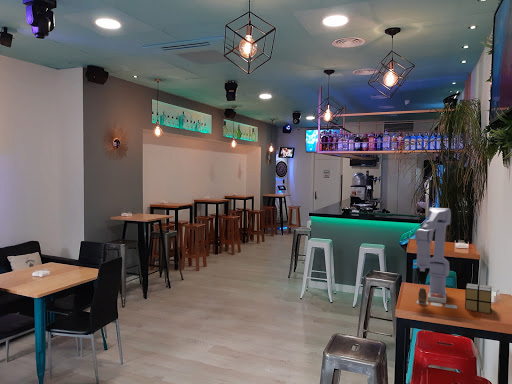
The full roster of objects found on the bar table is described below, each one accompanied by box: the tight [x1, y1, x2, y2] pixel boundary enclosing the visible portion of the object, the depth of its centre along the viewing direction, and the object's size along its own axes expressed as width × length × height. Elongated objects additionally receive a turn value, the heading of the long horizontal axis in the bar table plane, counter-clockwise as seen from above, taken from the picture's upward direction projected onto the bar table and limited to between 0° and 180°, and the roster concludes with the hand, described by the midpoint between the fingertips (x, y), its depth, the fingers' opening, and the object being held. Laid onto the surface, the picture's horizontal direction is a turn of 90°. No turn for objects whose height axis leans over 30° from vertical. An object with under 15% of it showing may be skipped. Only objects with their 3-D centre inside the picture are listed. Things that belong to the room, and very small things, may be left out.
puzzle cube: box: [464, 283, 493, 314], centre depth 176 cm, size 10×10×10 cm
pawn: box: [418, 287, 428, 305], centre depth 182 cm, size 3×3×7 cm
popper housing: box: [426, 292, 447, 304], centre depth 187 cm, size 8×8×2 cm
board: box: [416, 299, 458, 309], centre depth 180 cm, size 6×18×1 cm, turn 64°
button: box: [431, 293, 443, 298], centre depth 187 cm, size 5×5×3 cm
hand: (422, 283), depth 182 cm, fingers closed
